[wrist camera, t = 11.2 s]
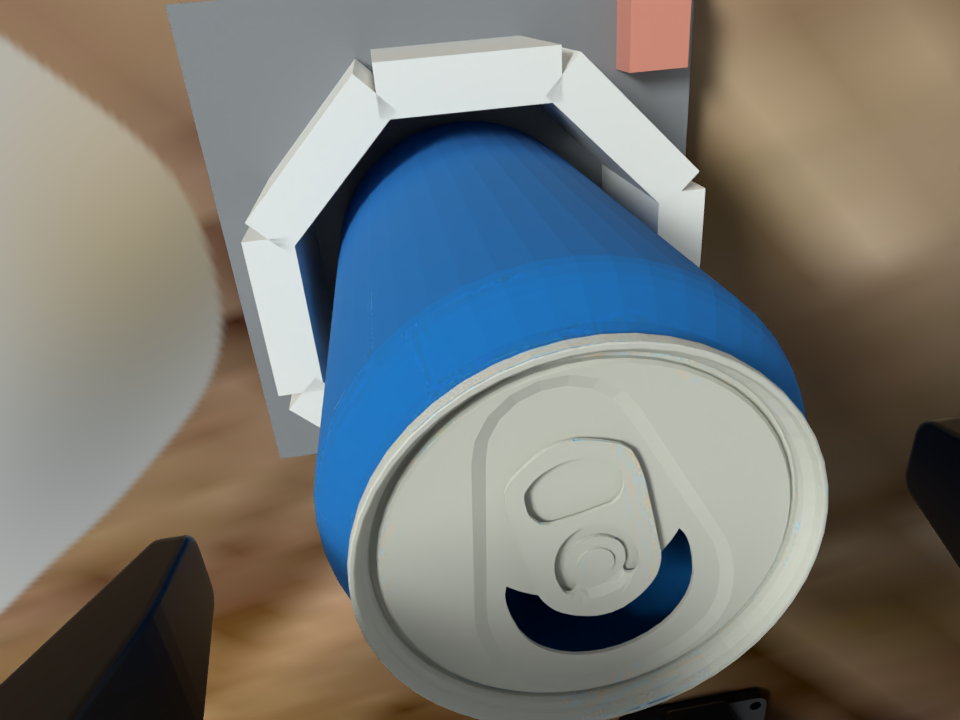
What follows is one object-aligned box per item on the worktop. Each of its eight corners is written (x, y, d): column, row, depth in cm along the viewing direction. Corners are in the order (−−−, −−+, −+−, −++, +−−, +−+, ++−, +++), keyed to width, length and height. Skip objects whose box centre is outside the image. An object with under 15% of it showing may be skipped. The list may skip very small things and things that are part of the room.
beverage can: (393, 383, 20) (422, 804, 10) (300, 166, 17) (192, 434, 7) (607, 309, 20) (875, 653, 10) (551, 79, 17) (854, 205, 6)
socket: (659, 386, 23) (729, 478, 18) (284, 439, 22) (263, 552, 17) (680, -39, 17) (787, -52, 13) (176, 4, 16) (104, 5, 12)
